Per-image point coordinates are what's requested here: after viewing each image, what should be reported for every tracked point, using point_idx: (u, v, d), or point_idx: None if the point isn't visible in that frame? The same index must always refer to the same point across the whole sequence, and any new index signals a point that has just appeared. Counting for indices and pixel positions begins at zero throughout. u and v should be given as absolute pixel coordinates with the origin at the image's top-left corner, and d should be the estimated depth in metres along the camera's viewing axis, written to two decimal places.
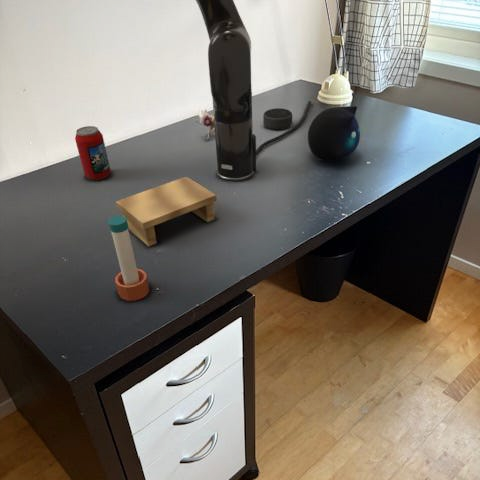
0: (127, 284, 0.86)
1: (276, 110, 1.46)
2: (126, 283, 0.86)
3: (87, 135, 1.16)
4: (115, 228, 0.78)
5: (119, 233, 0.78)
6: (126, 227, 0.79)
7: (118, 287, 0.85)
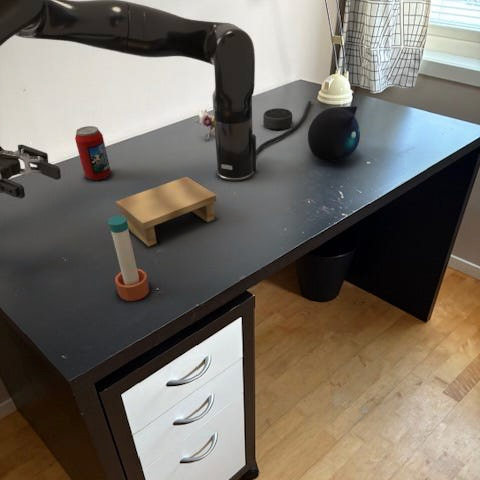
0: (127, 284, 0.86)
1: (276, 110, 1.46)
2: (126, 283, 0.86)
3: (87, 135, 1.16)
4: (115, 228, 0.78)
5: (119, 233, 0.78)
6: (126, 227, 0.79)
7: (118, 287, 0.85)
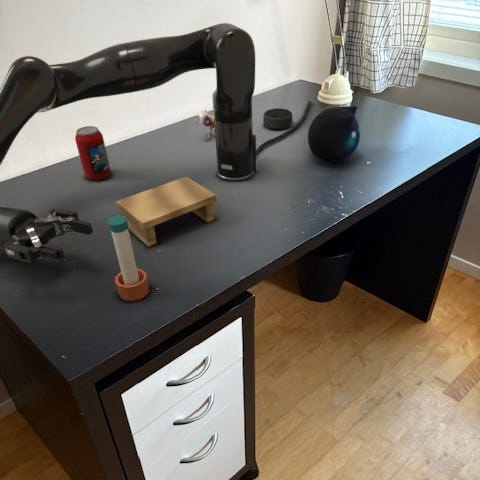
0: (127, 284, 0.86)
1: (276, 110, 1.46)
2: (126, 283, 0.86)
3: (87, 135, 1.16)
4: (115, 228, 0.78)
5: (119, 233, 0.78)
6: (126, 227, 0.79)
7: (118, 287, 0.85)
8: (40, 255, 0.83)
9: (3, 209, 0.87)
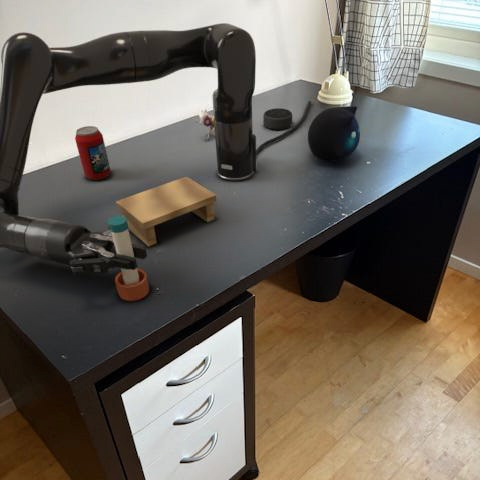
0: (127, 284, 0.86)
1: (276, 110, 1.46)
2: (126, 283, 0.86)
3: (87, 135, 1.16)
4: (115, 228, 0.78)
5: (119, 233, 0.78)
6: (126, 227, 0.79)
7: (118, 287, 0.85)
8: (112, 265, 0.82)
9: (57, 224, 0.84)
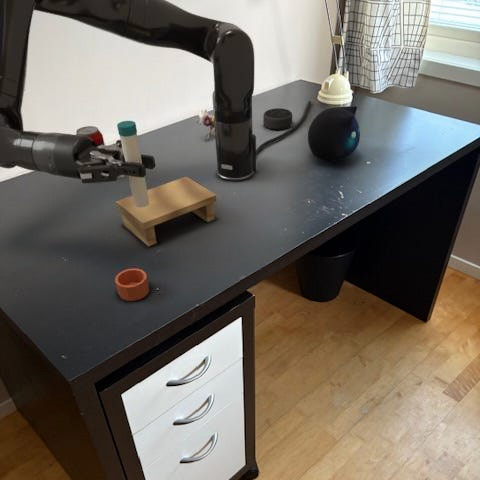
0: (135, 196, 0.85)
1: (276, 110, 1.46)
2: (134, 195, 0.85)
3: (87, 135, 1.16)
4: (124, 131, 0.77)
5: (128, 136, 0.78)
6: (135, 131, 0.78)
7: (118, 287, 0.85)
8: (121, 173, 0.81)
9: (65, 135, 0.84)
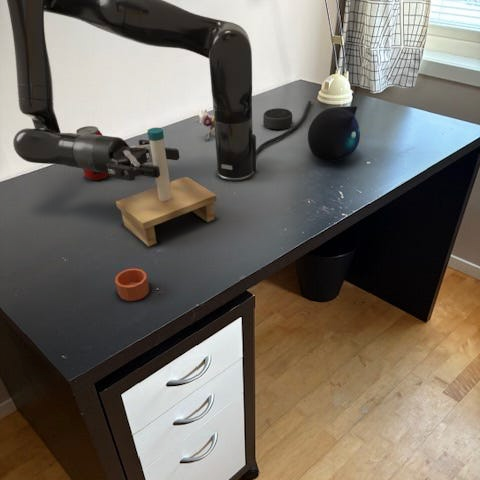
0: (160, 191, 1.00)
1: (276, 110, 1.46)
2: (160, 191, 1.00)
3: None
4: (153, 136, 0.92)
5: (156, 141, 0.93)
6: (162, 136, 0.93)
7: (118, 287, 0.85)
8: (139, 174, 0.94)
9: (101, 136, 0.98)
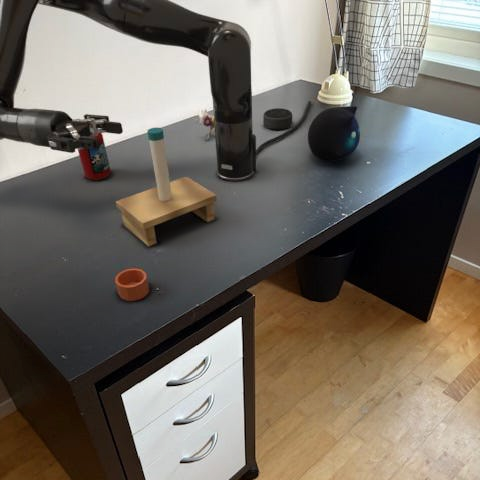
0: (160, 191, 1.00)
1: (276, 110, 1.46)
2: (160, 191, 1.00)
3: None
4: (153, 136, 0.92)
5: (156, 141, 0.93)
6: (162, 136, 0.93)
7: (118, 287, 0.85)
8: (79, 146, 0.95)
9: (44, 110, 0.99)
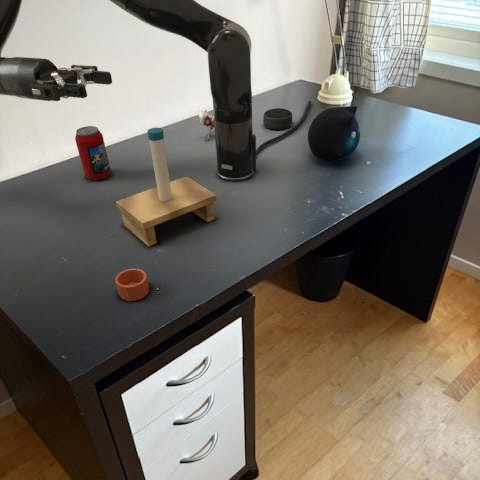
0: (160, 191, 1.00)
1: (276, 110, 1.46)
2: (160, 191, 1.00)
3: (87, 135, 1.16)
4: (153, 136, 0.92)
5: (156, 141, 0.93)
6: (162, 136, 0.93)
7: (118, 287, 0.85)
8: (64, 94, 0.88)
9: (28, 58, 0.93)
